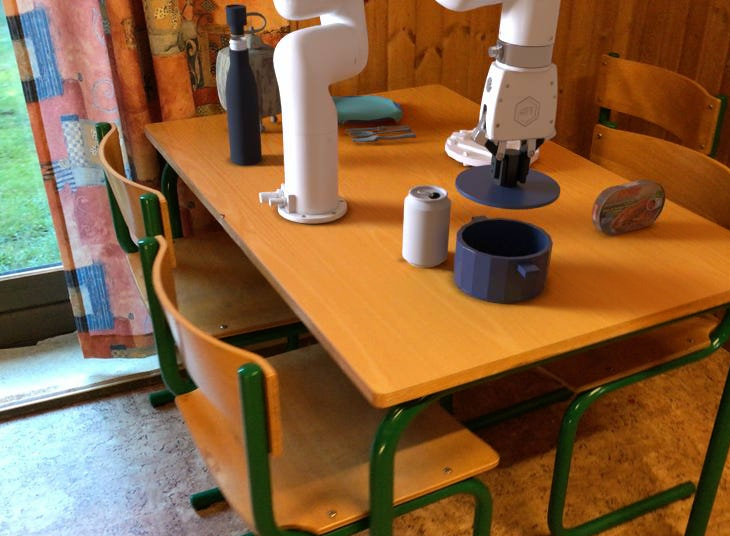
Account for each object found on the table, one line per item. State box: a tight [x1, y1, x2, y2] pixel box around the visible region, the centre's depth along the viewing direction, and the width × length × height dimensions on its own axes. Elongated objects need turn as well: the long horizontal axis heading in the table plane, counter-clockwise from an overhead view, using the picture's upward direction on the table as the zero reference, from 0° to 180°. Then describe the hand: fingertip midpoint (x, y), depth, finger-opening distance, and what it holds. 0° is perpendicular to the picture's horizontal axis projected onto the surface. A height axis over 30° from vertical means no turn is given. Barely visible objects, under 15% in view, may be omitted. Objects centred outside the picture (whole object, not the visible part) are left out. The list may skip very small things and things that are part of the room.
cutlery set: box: [331, 94, 417, 144], centre depth 196 cm, size 20×30×2 cm, turn 15°
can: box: [401, 184, 452, 269], centre depth 136 cm, size 8×8×12 cm
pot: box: [453, 214, 554, 304], centre depth 132 cm, size 15×20×8 cm
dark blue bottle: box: [224, 3, 263, 167], centre depth 166 cm, size 6×6×30 cm
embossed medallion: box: [444, 127, 540, 167], centre depth 180 cm, size 20×20×3 cm
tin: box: [591, 179, 666, 236], centre depth 149 cm, size 15×3×8 cm, turn 117°
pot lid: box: [454, 148, 561, 211], centre depth 124 cm, size 16×16×6 cm
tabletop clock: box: [215, 11, 282, 134], centre depth 184 cm, size 14×9×25 cm, turn 122°
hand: (508, 180), depth 125 cm, fingers closed on pot lid, 2 cm apart
